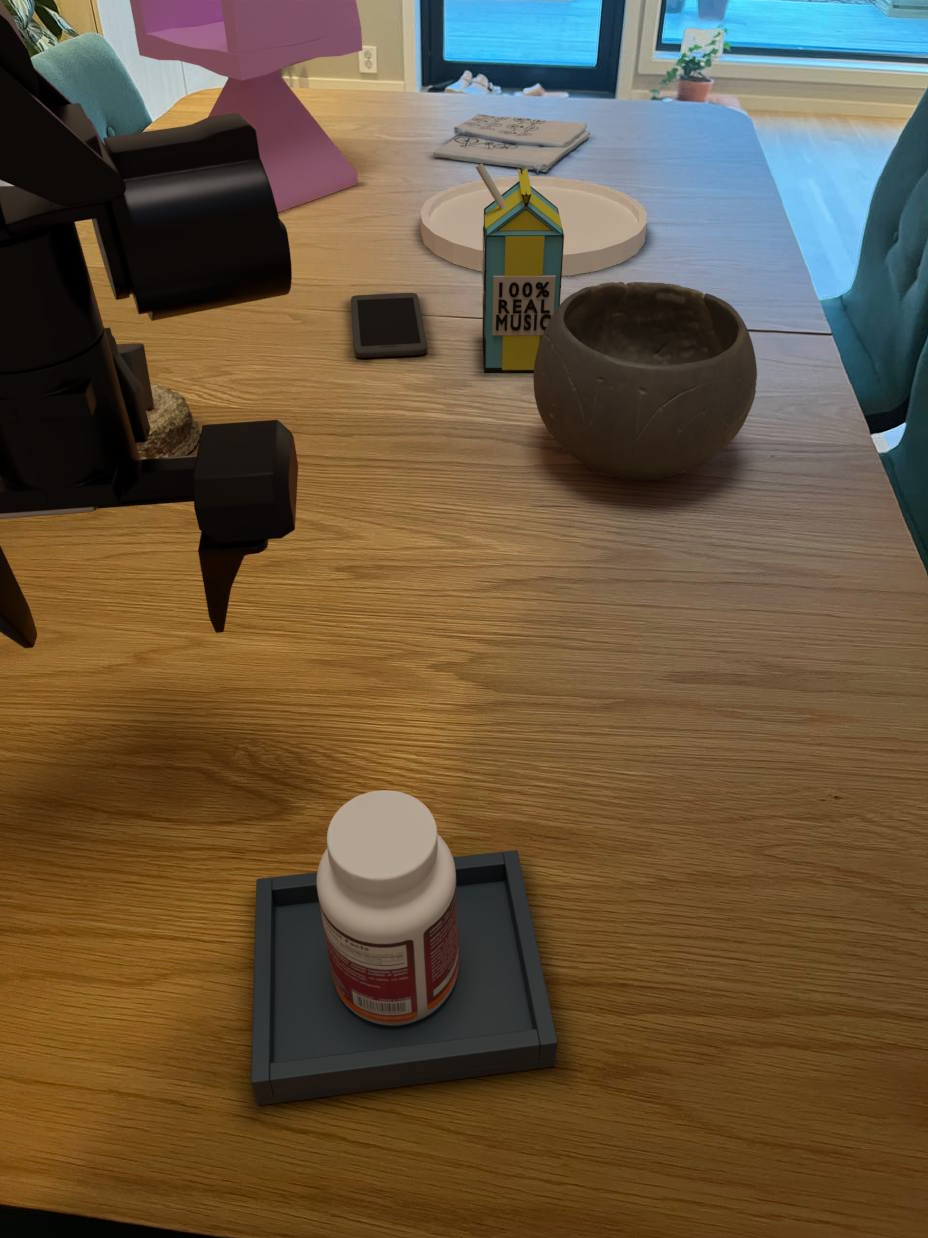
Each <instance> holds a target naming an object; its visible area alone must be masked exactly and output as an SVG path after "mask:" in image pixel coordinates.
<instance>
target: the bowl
mask: <svg viewBox="0 0 928 1238" xmlns="http://www.w3.org/2000/svg"><path fill="white" fill-rule="evenodd" d="M757 380H758V368H757V359H756V353H755V348H754V344H753V341H752V338H751V335H750V332H749V330H748V327H747V325H746V323H745V321H744V320H743V318H742V316H741V315H740V314H739V312H738V311H737V310H736V309H735V308H734V307H733V305H731V304H730V303H729V302H727V301H726V300H724V299H722V298H720V297H718V296H716V295H713V294H710V293H708V292H706V293H704V292H702V291H701V290H698V289H694V288H690V287H686V286H682V285H680V284H674V283H666V282H665V283H664V282H649V281H647V282H644V281H631V282H626V284H625V282H623V281H618V282H615V281H609V282H603V283H600V284H598V285H591V286H586V287H583V288H581V289H579V290H577V291H575V292H574V293H572V294H570V295H568V296H567V297H566V298H564V300H563V301H562V302H560V305H559V307H558V308H557V309H556V311H555V312H554V314H553V315H552V317H551V319H550V321H549V323H548V325H547V327H546V329H545V331H544V334H543V336H542V339H541V341H540V344H539V347H538V350H537V354H536V359H535V365H534V372H533V393H534V394H533V395H534V398H535V404H536V408H537V411H538V414H539V416H540V419H541V421H542V423H543V425H544V426H545V428H546V430H547V431H548V433H549V435H550V436H551V437H552V438H553V440H554V441H555V442H556V443H557V445H559V447H560V448H562V449H563V450H564V451H565V452H566V453H567V454H568V455H569V456H571V457H572V458H573V459H575V460H576V461H577V462H579V463H581V464H582V465H584V466H586V467H588V468H590V469H592V470H594V471H596V472H599V473H601V474H604V475H607V476H610V477H614V478H618V479H624V480H636V481H639V480H640V481H642V480H643V481H645V480H647V481H649V480H657V479H658V480H659V479H663V478H668V477H672V476H676V475H678V474H682V473H685V472H687V471H690V470H693V469H695V468H698V467H699V466H701V465H703V464H704V463H706V462H708V461H710V460H712V459H713V458H714V457H716V456H717V455H718V454H720V452H722V451H723V450H724V449H725V448H726V447H727V446H728V445H729V444H730V443H731V442H732V441H733V440H734V439H735V438H736V437H737V435H738V434H739V432H740V431H741V429H742V428H743V426H744V424H745V423H746V420H747V418H748V415H749V413H750V412H751V408H752V406H753V403H754V401H755V397H756V393H757V389H756V388H757Z"/></svg>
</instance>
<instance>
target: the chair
mask: <svg viewBox="0 0 928 1238" xmlns="http://www.w3.org/2000/svg"><path fill="white" fill-rule="evenodd" d="M129 4H130V9H131V15H132V20H133V25H134V33H135V38H136V44H137V48H138V49H137V50H138V54H139V56H141V57H145V58H149V59H153V60H157V61H178V62H183V63H187V64H191V65H195V66H197V67H198V66H199V67H201V68H203V69H205V70H207V71H210V72H212V73H215V74H217V75H219V76H222V77H226V78H227V80H226V82H225V84H224V86H223V87H222V89H221V91H220V93H219V95H218V97H217V99H216V100H215V103H214V105H213V107H212V108H211V110H210V112H209V114H208V116H207V118H208V117H212V116H218V115H225V114H232V113H239V114H240V115H241V116H243V117H244V118H245V119H246V120H247V121H248V122H249V124H250V125H251V126H252V127H253V128H254V129H255V130H256V135H257V141H258V148H259V155H260V159H261V161H262V163H263V166H264V169H265V171H266V174H267V176H268V180H269V183H270V186H271V189H272V192H273V196H274V200H275V204H276V207H277V211H278V213H281V212H284V211H287V210H289V209H292V208H295V207H298V206H301V205H303V204H307V203H310V202H312V201H315V200H317V199H320V198H323V197H327V196H329V195H332V194H334V193H337V192H340V191H343V190H346V189H348V188H349V189H350V188H351V187H354V186H358V185H359V180H358V179H359V178H358V172H357V170H356V169H355V168H354V167H353V165H352V164H351V162H349V161H348V159H347V158H346V156H345V155H344V154H343V153H342V152H341V151H340V149H339V148H338V147H337V145H336V144H335V143H334V141H333V140H332V139H331V138H330V137H329V136H328V134H327V133H326V132H325V130H324V129H323V128H322V127H321V125H320V124H319V122H317V120H316V119H315V117H314V116H313V115H312V114H311V112H309V110H308V109H307V107H306V106H305V105H304V104H303V102H302V101H301V100H300V98H299V97H298V96H297V95H296V93H295V92H294V91H293V90H292V88H291V87H290V86H289V85H288V84H287V82H286V81H285V80H284V78H283V77H282V71H281V69H285V68H287V67H291V66H294V65H297V64H301V63H305V62H308V61H310V60H314V59H317V58H330V57H342V56H346V55H351V54H354V53H357V52H362V51H363V35H362V25H361V20H360V13H359V8H358V3H357V0H129Z"/></svg>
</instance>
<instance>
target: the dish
mask: <svg viewBox="0 0 928 1238" xmlns="http://www.w3.org/2000/svg"><path fill="white" fill-rule="evenodd" d="M453 859H454V863H455V870H456V893H457V924H458V951H459V966H458V974H457V978H456V981H455V984H454V987H453V989H452V991H451V992H450V994H449V996H448V997H447V998H446V1000H445V1001H444V1002H443V1003H442V1004H441V1005H440V1006H439V1007H438V1008H437V1009H436V1010H435V1011H434V1012H432V1013H431V1014H429V1015H428V1016H426V1017H424V1018H422V1019H420V1020H418V1021H415V1022H412V1023H409V1024H405V1025H399V1026H388V1025H380V1024H376V1023H373V1022H370V1021H367V1020H365V1019H363V1018H361V1017H360V1016H358V1015H357V1014H355V1013H354V1012H353V1011H351V1010H350V1009H349V1008H348V1007H347V1005H346V1004H345V1003H344V1002H343V1000H342V999H341V997H340V995H339V994H338V991H337V989H336V986H335V983H334V980H333V976H332V971H331V964H330V959H329V954H328V948H327V943H326V937H325V931H324V926H323V920H322V915H321V909H320V904H319V899H318V892H317V872H318V871H315V872H307V873H297V874H288V875H280V876H271V877H269V876H268V877H262V878H260V877H259V878H256V879H255V880H256V881H255V917H254V921H255V922H254V953H253V954H254V956H253V957H254V958H253V988H252V989H253V990H252V991H253V993H252V1028H251V1029H252V1031H251V1034H252V1035H251V1069H250V1070H251V1071H250V1083H251V1087H252V1091H253V1093H254V1096H255V1100H256V1103H257V1105H258V1106H264V1105H265V1106H266V1105H271V1104H272V1105H273V1104H281V1103H287V1102H294V1101H301V1100H310V1099H318V1098H326V1097H332V1096H333V1097H334V1096H341V1095H346V1094H347V1095H349V1094H355V1093H362V1092H370V1091H371V1092H372V1091H378V1090H385V1089H392V1088H393V1089H394V1088H400V1087H401V1088H402V1087H409V1086H416V1085H424V1084H432V1083H438V1082H446V1081H452V1080H453V1081H454V1080H461V1079H468V1078H475V1077H477V1078H478V1077H484V1076H492V1075H498V1074H506V1073H507V1074H508V1073H514V1072H521V1071H522V1072H523V1071H528V1070H537V1069H545V1068H551V1067H552V1068H553V1067H555V1066H556V1058H557V1050H558V1037H557V1032H556V1027H555V1023H554V1019H553V1014H552V1009H551V1004H550V999H549V994H548V989H547V984H546V980H545V976H544V972H543V971H544V970H543V966H542V961H541V956H540V952H539V947H538V942H537V938H536V932H535V927H534V922H533V918H532V913H531V909H530V903H529V899H528V898H529V897H528V893H527V889H526V886H525V885H526V884H525V879H524V875H523V870H522V864H521V860H520V855H519V850H518V849H513V850H505V851H497V852H496V851H495V852H487V853H479V854H469V855H460V856H453Z"/></svg>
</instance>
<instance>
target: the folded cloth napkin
mask: <svg viewBox="0 0 928 1238" xmlns="http://www.w3.org/2000/svg"><path fill="white" fill-rule="evenodd" d="M587 127H588V126H587V123H578V122H569V121H561V120H546V119H545V120H543V119H534V118H525V117H517V116H515V117H512V116H495V115H487V114H480V113H479V114H476V115H475V116H473V117H472V118H469V119H468V120H466V121H464V122H462V123H460V124H458V125H457V126H454V127H453V134H454V136H452V137H451V138H449V141H448V142H447V143H446V144H444V145H443V146H442V147H439V148H437V149H435V150H434V151H433V157H434V158H443V159H444V158H445V159H451V160H455V161H462V162H469V163H470V162H471V163H477V164H481V163H482V164H487V165H495V166H503V167H513V168H518V169H521V170H522V171H523V170H525V169H527V170H528V171H529V170H535V171H536V173H539V172H543V173H547V172H548V170H549V169H550V168H551V167H552V166H553V165H554V164H555V163H556V162H557V161H559V160H561V158H563V157H564V156H565V155H566V154H569V152H571V151H573V150H574V149H576V147H577V146H579V145H580V144H581V143H582V142H584V141H586V140H588V138H589V136H590V135H591V131H588V130H586V129H587Z"/></svg>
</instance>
